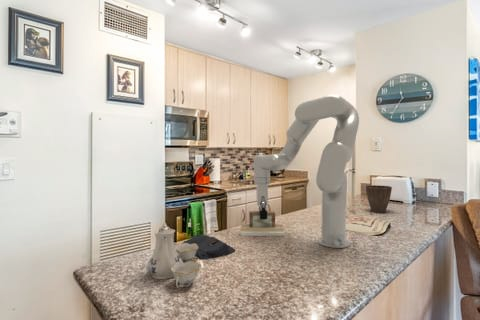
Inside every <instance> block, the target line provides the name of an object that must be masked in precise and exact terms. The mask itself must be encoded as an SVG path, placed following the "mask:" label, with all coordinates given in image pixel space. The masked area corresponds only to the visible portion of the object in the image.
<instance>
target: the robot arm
mask: <svg viewBox="0 0 480 320" xmlns="http://www.w3.org/2000/svg"><path fill="white" fill-rule="evenodd" d="M294 118H295V120H294V121H293V122H292V123H291V125H290V126H289V127H288V129H287V130H286V133H285V134H286V142H285V144H284V146H283V148H282V149H281V150H280V152H279V153H273V154H257V155H254V157H253V184H254V185H256V186H255V187H256V192H255V193H256V206H258V211H260V219H267V211H268V209H267V206H268V203H269V185H270V184H271V171H272V172H274V171H281V170H285V169H287V168H288V167H289V166H290V165H291V163H292V162H293V161H294V159H296V157H297V155H298V154H299V152H300V149H301V147H302V145H303V143H304V142H305V141H306V139H307V137H308V136H309V135H310V134H311V132H312V130H313V129H314V128H315V126H317V124H318V122H319V121H320V120H323V119H324V120H325V119H327V118H333V119H335V120H336V126H335V128H334V132H333V137H332V140H331V142H329V143H327V144H326V145H325V146H324V148H323V150H322V153H321V156H320V161H319V164H318V169H317V173H316V177H315V181H316V185H317V187H318V189H319V191H321V192H322V193H321V236H320V237H318V238H317V244H319V245H321V246H323V247H326V248H333V249H345V248H348V247H349V246H350V243H351V242H350V240H348V239H347V237H346V236H347V235H346V234H347V233H346V232H347V231H346V215H347V189H348V176H347V174H346V172H345V169H346V166H347V164H348V163H349V162H350V161H351V159H352V156H353V153H354V152H353V151H354V147H355V143H356V140H357V133H358V130H359V124H360V116H359V113H358V110H357V109H356V107H354V105H352V103H350V102H349V101H348V100H346V99H345V98H343V97H342V96H341V95H338V94H327V95H324V96H321V97H317V98H314V99H310V100H306V101H304V102H301V103H300V104H298V105H297V107H295V110H294Z"/></svg>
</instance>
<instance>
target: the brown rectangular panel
mask: <svg viewBox="0 0 480 320" xmlns="http://www.w3.org/2000/svg"><path fill="white" fill-rule="evenodd" d="M248 215H249V217H248V220H249V221H248V222H249V223H248V224H249V226H250V227H253V228H275V224H276V212H275V211H273V210H272V211H269V210H267V219H260V211H259V210H258V211H256V210H252V211H249V214H248Z"/></svg>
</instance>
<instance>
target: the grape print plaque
mask: <svg viewBox="0 0 480 320" xmlns="http://www.w3.org/2000/svg"><path fill="white" fill-rule="evenodd" d="M391 224H392V223H391V222H389V221H386V220H383V219H381V218H377V217H373V216H367V215H359V214H358V215H356V214H346V232H350V233H356V234H363V235H367V234H368V235H367V236H376V235H377V236H378V235H380V234H381V235H382V234H383V233H384V232H386V231H387V228H388V227H389V226H390V225H391Z"/></svg>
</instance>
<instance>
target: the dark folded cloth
mask: <svg viewBox="0 0 480 320" xmlns="http://www.w3.org/2000/svg"><path fill="white" fill-rule="evenodd" d="M182 243H189V244H190V245H191V244H193V243H196V244H197V245H198V247H199V248H198V249H197V252H196V255H195V256H194V257H195V258H197V259H198V260H205V261H207V260H211V259H214V258H220V257H225V256H228V255H230V254H232V253H234V252H236V249H235V248H234V247H232V246H231V245H229V244H227V243H226V242H223V241H222V240H221V239H218V238H216V237H214V236H209V235H208V234H196V235H195V236H194V235H193V236H192V237H190V238H189V239H187V240H185V241H183V242H182Z"/></svg>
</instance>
